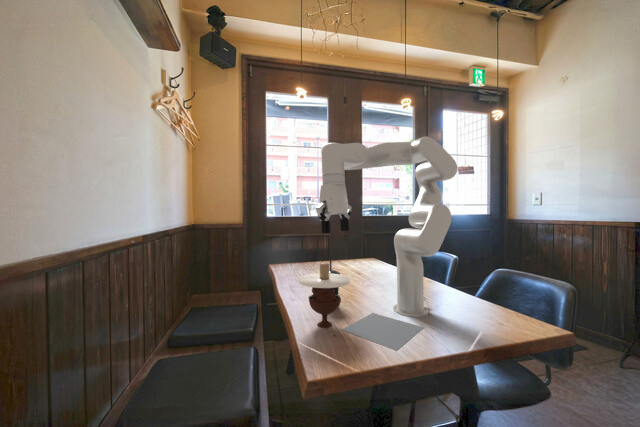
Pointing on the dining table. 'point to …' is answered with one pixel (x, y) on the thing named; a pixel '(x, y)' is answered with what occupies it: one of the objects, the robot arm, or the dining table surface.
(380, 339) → the mat
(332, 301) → the ice cream bowl
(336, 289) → the drinking cup
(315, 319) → the dining table surface
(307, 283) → the lid
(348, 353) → the dining table surface
